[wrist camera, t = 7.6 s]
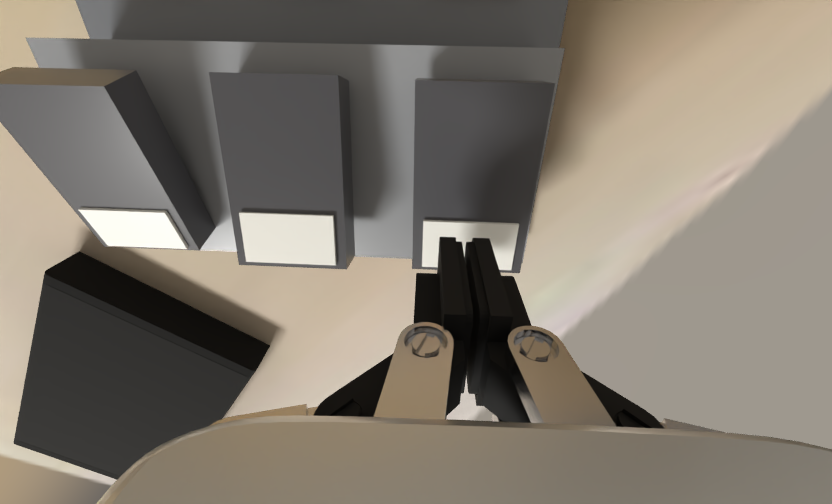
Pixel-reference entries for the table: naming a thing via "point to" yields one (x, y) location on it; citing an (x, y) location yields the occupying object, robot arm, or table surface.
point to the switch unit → (324, 55)
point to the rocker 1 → (106, 154)
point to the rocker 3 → (476, 164)
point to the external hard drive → (123, 368)
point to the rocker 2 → (287, 167)
